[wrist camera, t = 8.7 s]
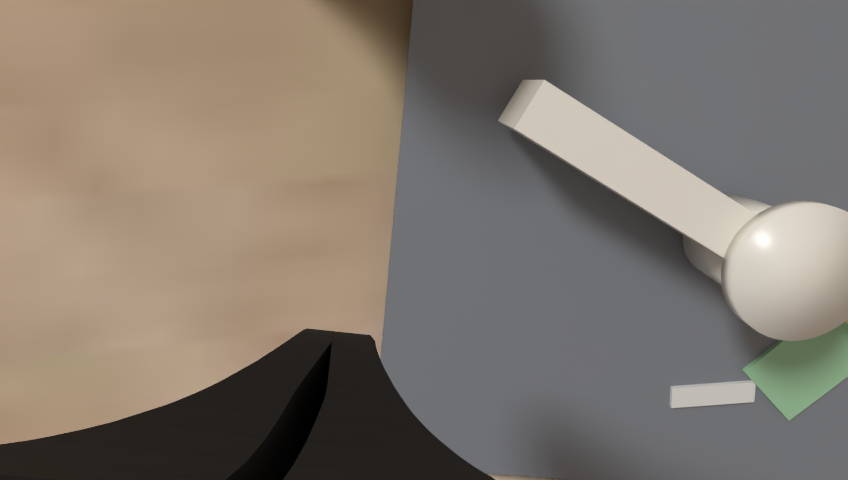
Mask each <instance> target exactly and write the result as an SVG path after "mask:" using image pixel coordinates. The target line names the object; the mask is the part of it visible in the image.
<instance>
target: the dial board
mask: <svg viewBox="0 0 848 480" xmlns="http://www.w3.org/2000/svg"><path fill="white" fill-rule="evenodd" d="M522 80H546V81H547V82H549V83H550V84H552V85H554V86H555V87H557V88H558V89H560V90H561V91H563V92H565V93H566V94H568V95H569V96H571V97H572V98H574V99H576V100H577V101H579V102H580V103H582V104H583V105H585V106H587V107H588V108H590V109H591V110H593V111H594V112H596V113H598V114H599V115H601V116H602V117H604V118H605V119H607V120H609V121H610V122H612V123H613V124H615V125H616V126H618V127H619V128H621V129H623V130H624V131H626V132H627V133H629V134H630V135H632V136H634V137H635V138H637V139H638V140H640V141H641V142H643V143H645V144H646V145H648V146H649V147H651V148H652V149H654V150H656V151H657V152H659V153H660V154H662V155H663V156H665V157H667V158H668V159H670V160H671V161H673V162H674V163H676V164H678V165H679V166H681V167H682V168H684V169H685V170H687V171H689V172H690V173H692V174H693V175H695V176H696V177H698V178H700V179H701V180H703V181H704V182H706V183H707V184H709V185H710V186H712V187H714V188H715V189H717V190H718V191H720V192H721V193H723V194H738V195H742V196H745V197H748V198H751V199H754V200H756V201H759V202H762V203H765V204H768V205H771V206H774V205H777V204H780V203H783V202H788V201H794V200H809V201H816V202H820V203H824V204H827V205H830V206H834V207H837V208H839V209H842V210H845V211H847V212H848V0H413V9H412V20H411V31H410V42H409V53H408V64H407V75H406V86H405V97H404V108H403V119H402V130H401V141H400V152H399V163H398V174H397V185H396V196H395V207H394V218H393V229H392V240H391V251H390V262H389V273H388V284H387V295H386V306H385V317H384V328H383V339H382V350H381V362H382V364H383V367H384V369H385V371H386V372H387V374H388V376H389V378H390V380H391V381H392V383H393V385H394V387H395V388H396V390H397V391H398V393H399V395H400V396H401V398H402V399H403V400H404V402H405V403H406V405H407V406H408V407H409V409H410V410H411V411H412V413H413V414H414V415H415V416H416V417H417V418H418V420H419V421H420V422H421V423H422V424H423V425H424V426H425V427H426V428H427V429H428V430H429V431H430V432H431V433H432V434H433V435H434V436H435V437H436V438H438V439H439V440H440V441H441V442H442V443H444V444H445V445H446V446H447V447H448V448H450V449H451V450H452V451H453V452H455V453H456V454H457V455H458V456H460V457H461V458H463V459H464V460H465V461H467V462H468V463H470V464H471V465H473V466H474V467H476V468H477V469H479V470H480V471H482V472H484V473H486V474H499V475H512V476H525V477H538V478H551V479H564V480H848V324H847V323H846V322H844V323H842V324H841V325H839V326H838V327H836V328H835V329H833V330H831V331H829V332H828V333H825V334H823V335H820V336H818V337H814V338H811V339H806V340H800V341H784V340H778V339H773V338H770V337H767V336H765V335H763V334H761V333H759V332H758V331H756V330H755V329H753V328H752V327H750V326H749V325H748V324H746V323H745V322H744V321H742V320H741V319H740V318H739V317H738V316H737V315H735V314H734V312H733V311H732V310H731V308H730V307H729V305H728V303H727V302H726V300H725V297H724V294H723V290H722V285H721V284H719V283H718V282H716V281H715V280H713V279H712V278H710V277H709V276H707V275H706V274H704V273H703V272H701V271H700V270H698V269H697V268H696V267H694V266H693V265H692V264H691V263H690V261H689V260H688V258H687V256H686V254H685V252H684V248H683V234H681V233H679V232H678V231H676V230H674V229H673V228H671V227H670V226H668V225H666V224H665V223H663V222H661V221H660V220H658V219H657V218H655V217H653V216H652V215H650V214H648V213H647V212H645V211H644V210H642V209H640V208H639V207H637V206H635V205H634V204H632V203H631V202H629V201H627V200H626V199H624V198H622V197H621V196H619V195H618V194H616V193H614V192H613V191H611V190H609V189H608V188H606V187H605V186H603V185H601V184H600V183H598V182H596V181H595V180H593V179H592V178H590V177H588V176H587V175H585V174H583V173H582V172H580V171H579V170H577V169H575V168H574V167H572V166H571V165H569V164H567V163H566V162H564V161H562V160H561V159H559V158H558V157H556V156H554V155H553V154H551V153H549V152H548V151H546V150H545V149H543V148H541V147H540V146H538V145H536V144H535V143H533V142H532V141H530V140H528V139H527V138H525V137H523V136H522V135H520V134H519V133H517V132H515V131H514V130H512V129H510V128H509V127H507V126H506V125H504V124H502V123H501V122H499V121H498V119H499V118H500V116H501V115H502V113H503V111H504V110H505V108H506V106H507V105H508V103H509V102H510V100H511V98H512V97H513V95H514V93H515V92H516V90H517V88H518V87H519V85H520V84H521V82H522Z"/></svg>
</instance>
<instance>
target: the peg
mask: <svg viewBox="0 0 848 480" xmlns="http://www.w3.org/2000/svg"><path fill="white" fill-rule="evenodd" d="M498 121H499V122H501V123H502V124H504V125H506V126H507V127H509V128H510V129H512V130H514V131H515V132H517V133H519V134H520V135H522V136H523V137H525V138H527V139H528V140H530V141H532V142H533V143H535V144H536V145H538V146H540V147H541V148H543V149H545V150H546V151H548V152H549V153H551V154H553V155H554V156H556V157H558V158H559V159H561V160H562V161H564V162H566V163H567V164H569V165H571V166H572V167H574V168H575V169H577V170H579V171H580V172H582V173H583V174H585V175H587V176H588V177H590V178H592V179H593V180H595V181H596V182H598V183H600V184H601V185H603V186H605V187H606V188H608V189H609V190H611V191H613V192H614V193H616V194H618V195H619V196H621V197H622V198H624V199H626V200H627V201H629V202H631V203H632V204H634V205H635V206H637V207H639V208H640V209H642V210H644V211H645V212H647V213H648V214H650V215H652V216H653V217H655V218H657V219H658V220H660V221H661V222H663V223H665V224H666V225H668V226H670V227H671V228H673V229H674V230H676V231H678V232H679V233H681V234H683V248H684V252H685V254H686V256H687V258H688V260H689V261H690V263H691V264H692V265H693V266H694V267H696V268H697V269H698V270H700V271H701V272H703V273H704V274H706V275H707V276H709V277H710V278H712V279H713V280H715V281H716V282H718V283H719V284H721V285H722V290H723V294H724V297H725V300H726V302H727V303H728V305H729V307H730V308H731V310H732V311H733V312H734V314H735V315H737V316H738V317H739V318H740V319H741V320H742V321H744V322H745V323H746V324H748V325H749V326H750V327H752V328H753V329H755V330H756V331H758V332H759V333H761V334H763V335H765V336H767V337H770V338H773V339H778V340H784V341H800V340H806V339H811V338H814V337H818V336H820V335H823V334H825V333H828V332H829V331H831V330H833V329H835V328H836V327H838V326H839V325H841V324H842V323H844V322H846V323H847V324H848V212H847V211H845V210H842V209H839V208H837V207H834V206H830V205H827V204H824V203H820V202H816V201H809V200H794V201H788V202H783V203H780V204H777V205H774V206H771V205H768V204H765V203H762V202H759V201H756V200H754V199H751V198H748V197H745V196H742V195H738V194H723V193H721V192H720V191H718V190H717V189H715V188H714V187H712V186H710V185H709V184H707V183H706V182H704V181H703V180H701V179H700V178H698V177H696V176H695V175H693V174H692V173H690V172H689V171H687V170H685V169H684V168H682V167H681V166H679V165H678V164H676V163H674V162H673V161H671V160H670V159H668V158H667V157H665V156H663V155H662V154H660V153H659V152H657V151H656V150H654V149H652V148H651V147H649V146H648V145H646V144H645V143H643V142H641V141H640V140H638V139H637V138H635V137H634V136H632V135H630V134H629V133H627V132H626V131H624V130H623V129H621V128H619V127H618V126H616V125H615V124H613V123H612V122H610V121H609V120H607V119H605V118H604V117H602V116H601V115H599V114H598V113H596V112H594V111H593V110H591V109H590V108H588V107H587V106H585V105H583V104H582V103H580V102H579V101H577V100H576V99H574V98H572V97H571V96H569V95H568V94H566V93H565V92H563V91H561V90H560V89H558V88H557V87H555V86H554V85H552V84H550V83H549V82H547V81H546V80H522V82H521V84H520V85H519V87H518V88H517V90H516V92H515V93H514V95H513V97H512V98H511V100H510V102H509V103H508V105H507V106H506V108H505V110H504V111H503V113H502V115H501V116H500V118H499V119H498Z"/></svg>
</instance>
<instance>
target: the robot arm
mask: <svg viewBox="0 0 848 480" xmlns="http://www.w3.org/2000/svg"><path fill="white" fill-rule="evenodd" d="M0 480H495V479H493V478H492V477H490V476H488V475H487V474H485V473H484V472H482V471H480V470H479V469H477V468H476V467H474V466H473V465H471V464H470V463H468V462H467V461H465V460H464V459H463V458H461V457H460V456H458V455H457V454H456V453H455V452H453V451H452V450H451V449H450V448H448V447H447V446H446V445H445V444H444V443H442V442H441V441H440V440H439V439H438V438H436V437H435V436H434V435H433V434H432V433H431V432H430V431H429V430H428V429H427V428H426V427H425V426H424V425H423V424H422V423H421V422H420V421H419V420H418V418H417V417H416V416H415V415H414V414H413V413H412V411H411V410H410V409H409V407H408V406H407V405H406V403H405V402H404V400H403V399H402V398H401V396H400V395H399V393H398V391H397V390H396V388H395V387H394V385H393V383H392V381H391V380H390V378H389V376H388V374H387V372H386V371H385V369H384V367H383V364H382V362H381V360H380V358H379V355H378V352H377V349H376V346H375V341H374V340H373V338H372V337H371V336H370V335H363V334H353V333H344V332H334V331H324V330H315V329H305V330H303V331H301V332H300V333H298V334H297V335H295V336H294V337H292V338H291V339H290V340H288V341H287V342H285V343H284V344H282V345H281V346H279V347H278V348H276V349H275V350H273V351H272V352H270V353H268V354H267V355H265V356H264V357H262V358H261V359H259V360H258V361H256V362H254V363H253V364H251V365H249V366H247V367H245V368H244V369H242V370H240V371H238V372H237V373H235V374H233V375H231V376H229V377H228V378H226V379H224V380H222V381H220V382H218V383H216V384H214V385H212V386H210V387H208V388H206V389H204V390H202V391H199V392H197V393H195V394H192V395H190V396H187V397H185V398H183V399H180V400H178V401H175V402H173V403H170V404H167V405H165V406H162V407H158V408H155V409H152V410H149V411H146V412H143V413H140V414H137V415H134V416H130V417H127V418H124V419H121V420H118V421H114V422H111V423H107V424H103V425H99V426H95V427H91V428H87V429H83V430H79V431H74V432H69V433H64V434H60V435H55V436H50V437H45V438H40V439H34V440H29V441H22V442H15V443H8V444H1V445H0Z"/></svg>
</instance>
